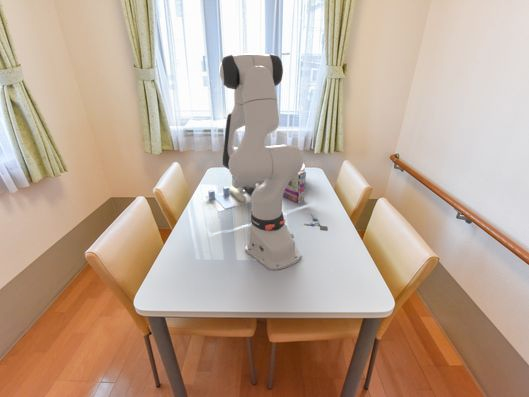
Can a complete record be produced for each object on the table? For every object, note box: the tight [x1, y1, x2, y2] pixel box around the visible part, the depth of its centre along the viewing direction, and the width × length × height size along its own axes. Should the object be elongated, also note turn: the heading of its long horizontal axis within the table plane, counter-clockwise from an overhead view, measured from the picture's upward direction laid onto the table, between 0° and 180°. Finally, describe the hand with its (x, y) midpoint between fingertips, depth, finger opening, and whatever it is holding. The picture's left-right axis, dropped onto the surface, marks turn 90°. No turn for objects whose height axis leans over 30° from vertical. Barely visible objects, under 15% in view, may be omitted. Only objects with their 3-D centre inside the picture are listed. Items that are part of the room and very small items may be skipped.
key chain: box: [303, 214, 329, 232], centre depth 117 cm, size 14×8×1 cm, turn 27°
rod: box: [228, 186, 246, 202], centre depth 137 cm, size 14×3×3 cm, turn 32°
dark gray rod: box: [243, 185, 255, 195], centre depth 140 cm, size 16×4×4 cm, turn 32°
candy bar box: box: [283, 170, 307, 204], centre depth 133 cm, size 11×5×16 cm, turn 42°
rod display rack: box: [205, 184, 257, 212], centre depth 137 cm, size 18×28×6 cm, turn 122°
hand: (251, 191), depth 140 cm, fingers open, 8 cm apart
